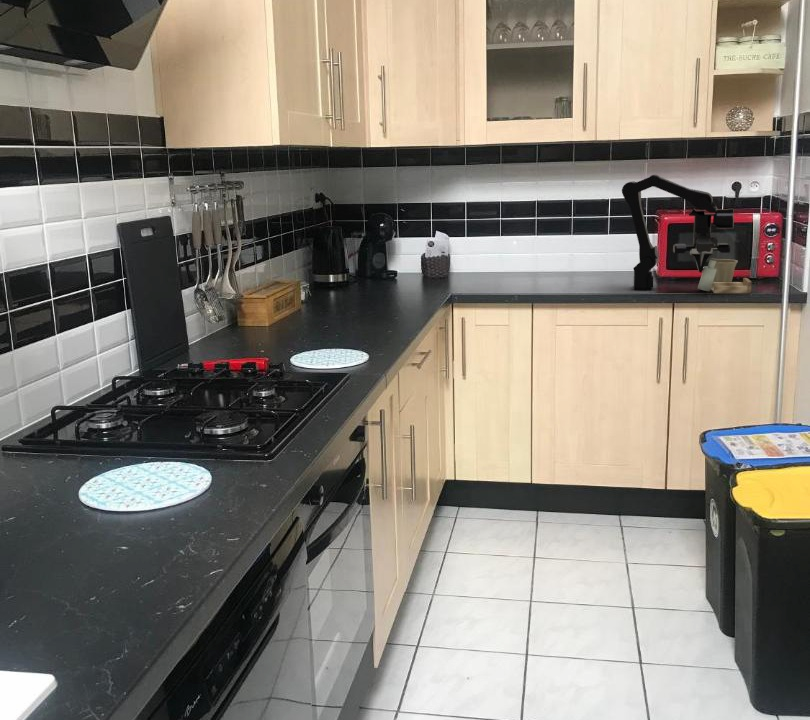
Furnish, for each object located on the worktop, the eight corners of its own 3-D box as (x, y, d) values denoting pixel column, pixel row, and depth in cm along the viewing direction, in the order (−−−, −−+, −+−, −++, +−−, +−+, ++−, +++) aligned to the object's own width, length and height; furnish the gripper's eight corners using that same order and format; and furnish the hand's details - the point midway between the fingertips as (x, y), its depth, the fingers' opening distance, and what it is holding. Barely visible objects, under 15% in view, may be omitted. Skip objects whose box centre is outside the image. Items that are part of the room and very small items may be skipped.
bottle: (698, 289, 298) (708, 257, 295) (696, 287, 303) (706, 256, 299) (710, 292, 298) (720, 260, 294) (709, 289, 302) (718, 259, 299)
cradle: (714, 293, 296) (714, 281, 295) (710, 288, 304) (711, 277, 303) (750, 293, 293) (751, 281, 292) (746, 288, 301) (746, 277, 300)
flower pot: (732, 281, 318) (733, 258, 316) (739, 285, 309) (741, 262, 306) (706, 281, 319) (708, 259, 316) (713, 285, 310) (714, 262, 307)
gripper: (677, 231, 289) (675, 276, 293) (734, 230, 285) (731, 275, 289) (673, 228, 300) (672, 271, 304) (728, 227, 296) (726, 270, 300)
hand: (700, 272), depth 299 cm, fingers closed
